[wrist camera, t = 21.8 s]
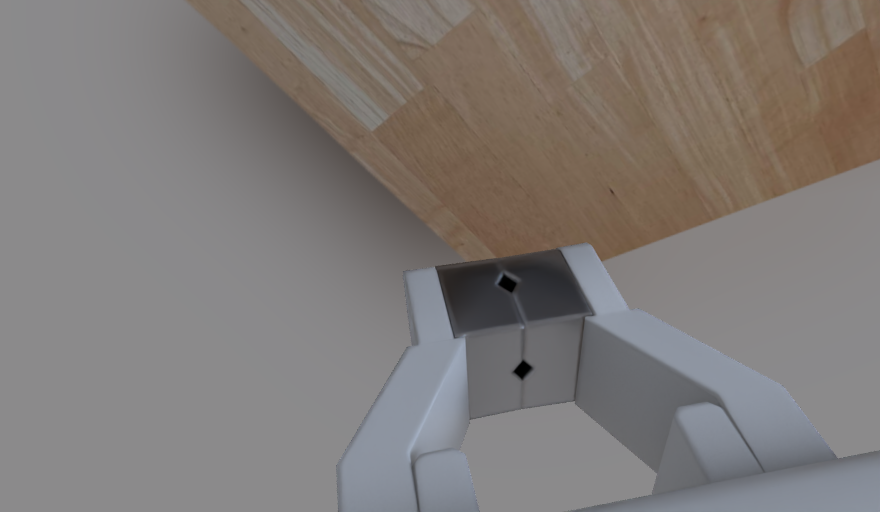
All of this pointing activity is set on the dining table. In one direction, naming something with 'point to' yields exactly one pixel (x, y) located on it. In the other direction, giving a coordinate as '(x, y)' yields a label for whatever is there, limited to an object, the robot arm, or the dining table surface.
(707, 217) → the dining table surface
